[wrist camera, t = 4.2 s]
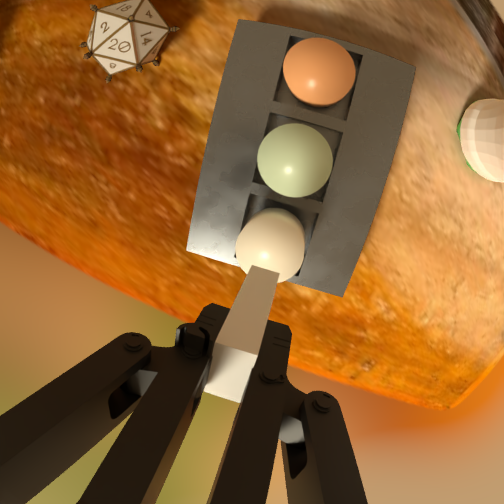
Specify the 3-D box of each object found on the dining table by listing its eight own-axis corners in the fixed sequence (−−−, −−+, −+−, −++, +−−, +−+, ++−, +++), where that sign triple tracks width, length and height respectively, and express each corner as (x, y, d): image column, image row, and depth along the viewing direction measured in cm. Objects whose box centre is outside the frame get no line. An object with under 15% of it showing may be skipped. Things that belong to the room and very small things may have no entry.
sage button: (257, 179, 23) (249, 185, 20) (273, 118, 21) (267, 115, 18) (319, 196, 23) (320, 206, 20) (337, 135, 21) (341, 135, 18)
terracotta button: (280, 98, 21) (275, 92, 18) (294, 43, 19) (292, 30, 16) (341, 115, 21) (346, 112, 18) (355, 60, 19) (362, 49, 16)
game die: (178, 43, 27) (210, 11, 18) (129, 102, 27) (141, 88, 19) (117, 2, 22) (128, -42, 13) (65, 62, 22) (51, 32, 14)
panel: (201, 235, 30) (186, 250, 27) (248, 33, 22) (238, 19, 19) (339, 276, 29) (342, 297, 25) (401, 75, 21) (416, 67, 18)
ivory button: (238, 255, 25) (229, 272, 23) (252, 200, 24) (243, 210, 21) (295, 272, 25) (292, 291, 22) (312, 217, 23) (313, 230, 20)
